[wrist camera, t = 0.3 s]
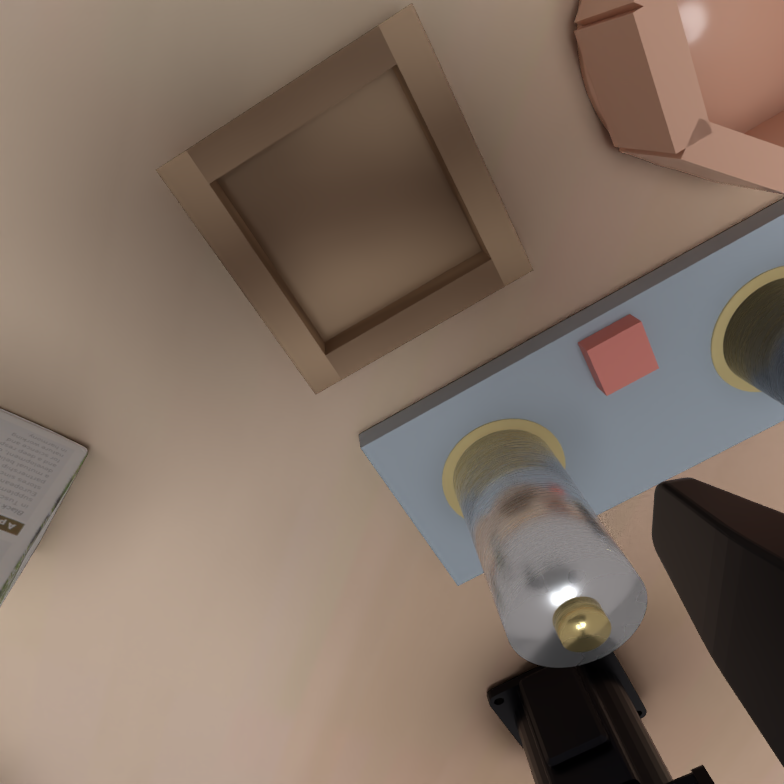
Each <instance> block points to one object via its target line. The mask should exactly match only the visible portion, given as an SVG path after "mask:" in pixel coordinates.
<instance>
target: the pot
mask: <svg viewBox="0 0 784 784" xmlns="http://www.w3.org/2000/svg"><path fill="white" fill-rule="evenodd" d="M574 23H576V24H577V30H575V31H574V33H575V36H576V39H577V47H578V56H579V63H580V69H581V74H582V78H583V81H584V85H585V88H586V92H587V94H588V96H589V99H590V101H591V103H592V106H593V108H594V110H595V112H596V113H597V115H598V117H599V118H600V120H601V122H602V123H603V125H604V126H605V128H606V129H607V130H608V131H609V133H610V136H611V139H612V142H613V145H614V147H620V149H619V152H623V153H626V154H629V155H632V156H635V157H638V158H641V159H643V160H645V161H648V162H650V163H653V164H655V165H658V166H662V167H666V168H670V169H675V170H678V171H681V172H684V173H687V174H690V175H694V176H697V177H700V178H703V179H706V180H709V181H712V182H717V183H723V184H728V185H734V186H740V187H745V188H751V189H757V190H762V191H768V192H774V193H780V194H784V0H579V4H578V13H577V15H576V18H575V21H574Z"/></svg>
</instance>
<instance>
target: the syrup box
mask: <svg viewBox="0 0 784 784" xmlns="http://www.w3.org/2000/svg"><path fill="white" fill-rule="evenodd" d="M87 455H88V450H87V448H85V447H84V446H82V445H80V444H78V443H76V442H74V441H72V440H69V439H67V438H65V437H64V436H61V435H59V434H57V433H55V432H53V431H51V430H49V429H47V428H44V427H42V426H40V425H38V424H35V423H33V422H31V421H28V420H26V419H24V418H21V417H19V416H17V415H15V414H13V413H10V412H8V411H5V410H3V409H1V408H0V607H1V605H2V603H3V602H4V600H5V598H6V597H7V595H8V593H9V592H10V590H11V589H12V587H13V585H14V584H15V582H16V581H17V579H18V577H19V576H20V574H21V573H22V571H23V569H24V568H25V566H26V564H27V562H28V561H29V559H30V557H31V556H32V554H33V553H34V551H35V550H36V548H37V546H38V544H39V542H40V540H41V539H42V537H43V535H44V533H45V531H46V529H47V527H48V526H49V524H50V522H51V520H52V518H53V516H54V515H55V513H56V511H57V509H58V507H59V506H60V504H61V502H62V500H63V498H64V497H65V495H66V493H67V491H68V489H69V487H70V486H71V484H72V482H73V480H74V478H75V477H76V475H77V473H78V471H79V469H80V467H81V465H82V464H83V462H84V460H85V458H86V457H87Z"/></svg>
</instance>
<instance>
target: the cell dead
mask: <svg viewBox="0 0 784 784" xmlns="http://www.w3.org/2000/svg"><path fill="white" fill-rule="evenodd" d="M723 354H724V358H725V361H726V363H727V365H728V367H729V369H730V370H731V371H732V372H733V373H734V374H735V375H737V376H738V377H739V378H741V379H743V380H744V381H746V382H747V383H749V384H750V385H752V386H754V387H755V388H757V389H758V390H760V391H762V392H763V393H765V394H766V395H768V396H770V397H771V398H773V399H774V400H776V401H778V402H779V403H781V404H782V405H784V278H781V279H777V280H774V281H771V282H769V283H767V284H765V285H763V286H762V287H760V288H758V289H757V290H756V291H754V292H753V293H752V294H750V295H749V296H748V297H747V298H746V299H745V300H744V301H743V302H742V303H741V304H740V305H739V307H738V308H737V309H736V311H735V312H734V314H733V315H732V317H731V319H730V321H729V323H728V325H727V328H726V331H725V335H724V340H723Z"/></svg>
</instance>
